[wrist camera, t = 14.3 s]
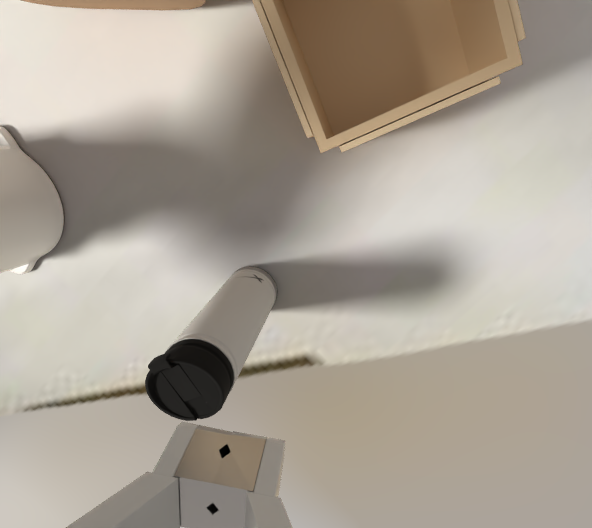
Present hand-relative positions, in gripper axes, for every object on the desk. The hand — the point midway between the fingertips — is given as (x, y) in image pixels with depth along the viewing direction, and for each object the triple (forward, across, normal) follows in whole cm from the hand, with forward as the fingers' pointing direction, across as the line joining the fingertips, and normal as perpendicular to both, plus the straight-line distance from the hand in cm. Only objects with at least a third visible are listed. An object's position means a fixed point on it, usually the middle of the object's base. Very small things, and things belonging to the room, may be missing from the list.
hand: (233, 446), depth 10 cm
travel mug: (+33, +7, +12) cm, 36 cm away
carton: (+34, -3, -16) cm, 37 cm away
